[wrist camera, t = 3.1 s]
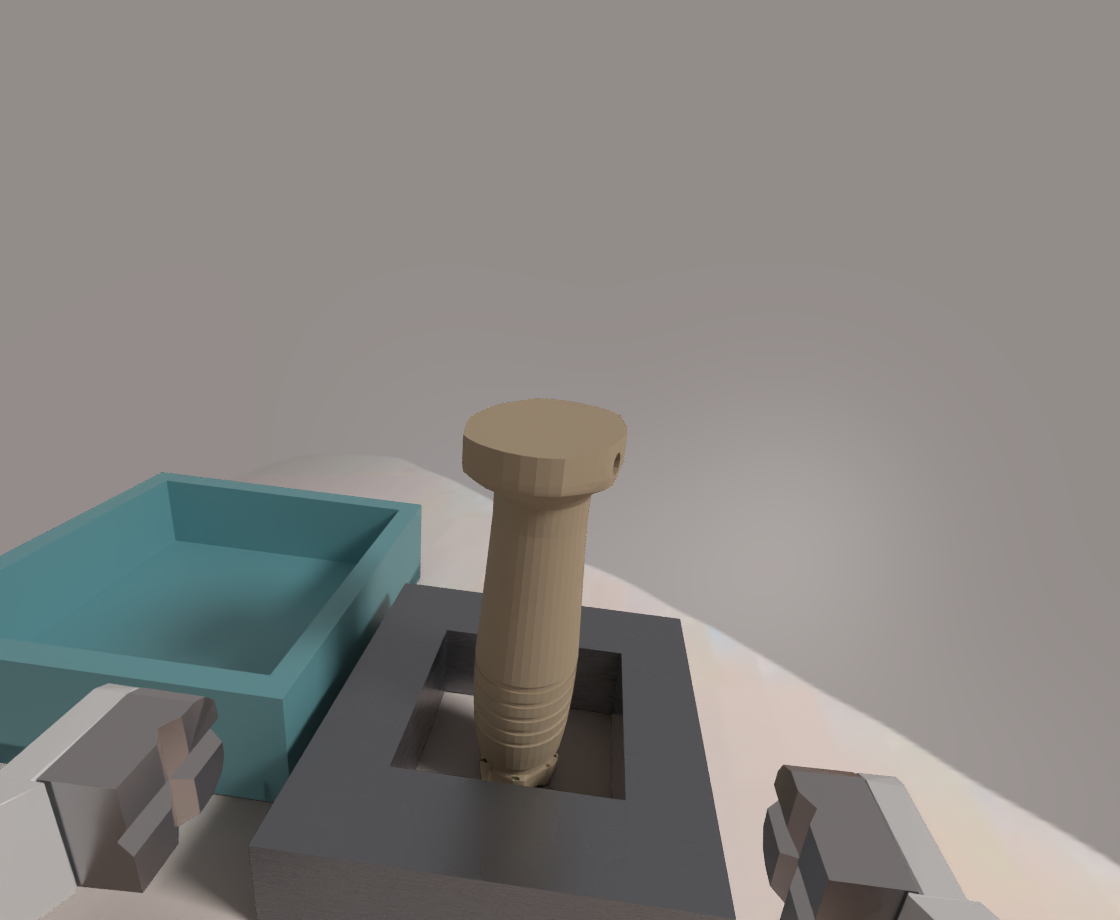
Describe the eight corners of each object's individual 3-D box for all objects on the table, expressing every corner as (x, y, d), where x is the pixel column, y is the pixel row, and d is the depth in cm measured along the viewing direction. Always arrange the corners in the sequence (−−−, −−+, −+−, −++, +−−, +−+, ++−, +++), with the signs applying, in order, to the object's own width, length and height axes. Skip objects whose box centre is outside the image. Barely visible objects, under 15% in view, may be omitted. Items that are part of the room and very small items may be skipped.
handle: (421, 807, 22) (430, 433, 17) (500, 697, 28) (525, 391, 23) (536, 862, 21) (585, 471, 16) (595, 735, 27) (645, 416, 21)
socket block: (257, 925, 18) (248, 845, 17) (404, 639, 31) (405, 583, 30) (712, 995, 18) (736, 918, 16) (668, 675, 31) (679, 619, 30)
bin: (-116, 745, 23) (-159, 637, 21) (172, 544, 38) (162, 472, 36) (291, 804, 22) (282, 699, 20) (420, 577, 37) (421, 504, 35)
